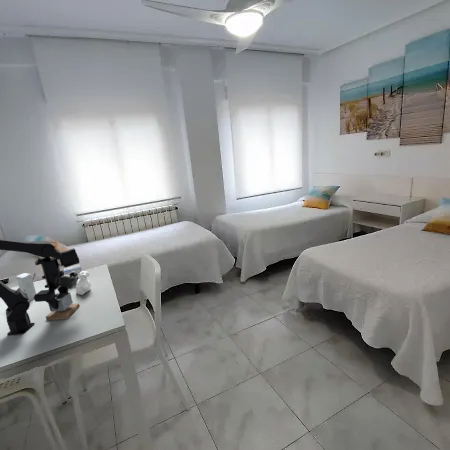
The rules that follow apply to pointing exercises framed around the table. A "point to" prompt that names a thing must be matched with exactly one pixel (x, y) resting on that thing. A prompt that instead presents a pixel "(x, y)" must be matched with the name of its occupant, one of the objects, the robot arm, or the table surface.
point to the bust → (83, 283)
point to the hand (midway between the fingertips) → (61, 304)
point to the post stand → (63, 313)
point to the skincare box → (26, 285)
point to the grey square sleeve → (62, 302)
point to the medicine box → (74, 268)
